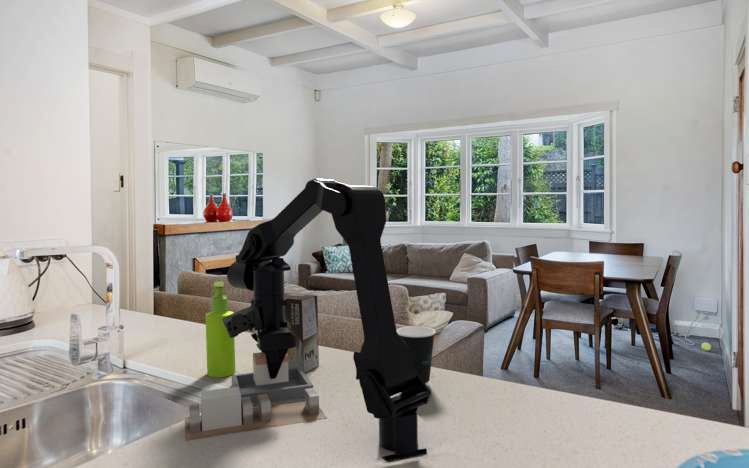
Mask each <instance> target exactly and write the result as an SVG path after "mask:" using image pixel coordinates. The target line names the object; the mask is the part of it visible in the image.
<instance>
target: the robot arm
mask: <svg viewBox="0 0 749 468" xmlns="http://www.w3.org/2000/svg"><path fill="white" fill-rule="evenodd" d="M386 207H387V206H386V199H385V194H384V193H383V191H382V190H380V189H379V188H378V187H376V186H373V185H354V184H353V185H350V184H347V183H342V182H339V181H337V180H334V179H331V178H330V179H327V178H312V179H311V180H308V181H307V182H306V184H305V186H304V188H303V189H302V190H301V191H300V192H299V193H298V194H297V195H296V196H295V197H294V198H293V199H292V200H291V201H290V202H289V203H288V204H287V205H286V206H285V207H284V208H282V210H281V211H280V212H279V213H277V214H276V216H275V217H273V218H272V219H270V220H267V221H263V222H260V223H258V224H257V225H255V226H254V227H252V228H250V230H249V231H248V232H247V234H246V237H245V240H244V242H243V245H242V247H241V250H240V252H239V253H238V254H236V255H235V261H234V262H233V263H231V264H230V266H229V267H228V271H227V273H226V278H227V281H228V283H229V284H230V286H231V287H233V288H236V289H240V290H245V291H251V292H252V291H253V297H252V298H251V299H250V306H249V307H246V308H243V309H239V310H238V311H236V312H234V313H233V314H231V315H228V316H226V317H224V318H223V319H222V320H223V323H224V325H225V327H226V330H227V332H228V334H229V337H230V338H233V337H235V338H236V337H238V336H239V335H240V334H242V333H245V332H247V331H249V332H252V331H253V330H254V332H255V333H251V337H252V339H253V340H254V341H255V342H256V344H255V345H256V347H257V348H258V350H259V351H260V352H264V353H265V357H266V362H267V367H268V372H269V377H270V379H275V378H276V377H277V374H278V372H279V370H280V367H281V365H282V362H283V360H284V358H285V356H286V354H287V351H288V349H289V348H294V347H296V337H295V335H294V334H293V333H292V332H291V331H290V330H289V329H287V328H282V327H287V321H286V320H285V305H287V300H286V299H285V294H284V293H285V272H286V271H287V272H288V271H291V266H290V265H289V263H287V262H286V261H285V260H284V258H283V257H285V256H286V255H287V254H288V253H289V251H290V250H291V248H292V247H293V246H294V245H295V237H296V235H298V233H300V232H301V231H302V230H303V229H304V228H305V227H306V226H308V225H309V224H310V222H311V223H312V221H313V220H314V219H315V218H316V217H317V216H319V214H321V213H322V212H323V211H324V212H326V213H329V214H331V218H332V220H333V224H334V227H335V229H336V231H337V232H338V234H339V236H341V238H342V239H343V240H344V241H345V242H346V244H347V246H348V249H349V251H348V252H349V256H350V260H351V261H350V262H351V267H352V275H353V280H354V285H355V289H356V290H355V291H356V296H357V301H358V302H357V303H358V309H359V313H360V320H361V327H362V331H363V338H364V339H363V342H362V345H361V349H360V350H356V351H354V352H353V355H352V356H353V357H352V358H353V362H354V366H355V373H356V374H355V380H357V381H359V385H360V388H361V392H362V396H363V400H364V404H365V408H366V412H367V413H369V414H371V415H372V416H373V418H375V419H378V444H379V446H380V447H381V448H382V449H384V450H386V451H388V452H393V454H388V455H384V456H382V458H383V460H384V461H385V462H393V461H398V460H404V459H407V458H408V459H409V458H413V457H417V456H423V455H427V453H428V451H427V450H428V449H427V448H426V447H425V448H420V449H418V445H419V444H418V442H419V441H418V437H419V436H418V433H419V432H418V427H419V425H418V423H419V420H418V414H419V413H418V410H419V407H422V406H424V405H427V404H429V401H430V398H431V395H432V391H431V390H430V389H429V387H428V386H427V385H426V384H425V382H424V381H423V379H422V378H421V376H420V375H419V373H418V372H417V370H416V369H415V365H414V362H413V359H412V356H411V353H410V350H409V348H408V346H407V345H406V344H405V342H404V341H403V340H402V339H401V337H400V336H399V335H398V333H397V326H396V322H395V314H394V309H393V304H392V299H391V298H392V297H391V293H390V287H389V283H388V281H389V280H388V276H387V271H386V265H385V260H384V253H383V248H382V242H381V241H382V235H383V233H384V230H385V226H386V222H387V213H386V212H387V209H386ZM394 395H395V396H394Z"/></svg>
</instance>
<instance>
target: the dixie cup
mask: <svg viewBox="0 0 749 468" xmlns="http://www.w3.org/2000/svg"><path fill="white" fill-rule="evenodd" d="M396 330H397V333H398V335H399V336H400V337H401V339H402V340H403V341H404V342H405V344H406V345H407V346H408V348H409V350H410V353H411V356H412V359H413V362H414V365H415V369H416V370H417V372H418V373H419V375H420V376H421V378H422V379H423V381H424V382H425V384H426V385H427V387H428V386H429V382H430V378H431V377H430V376H431V369H432V358H433V350H434V342H435V341H434V340H435V334H436V333H437V332H436V330H435V329H434V328H432V327H428V326H420V325H412V326H409V325H408V326H403V327H399V328H396Z"/></svg>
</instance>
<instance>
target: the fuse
mask: <svg viewBox="0 0 749 468" xmlns="http://www.w3.org/2000/svg"><path fill="white" fill-rule="evenodd" d="M200 416H201V421H202V431H206V430H212V429H219V428H225V427H232V426H238V425H242V419H241V393H240V390H239V387H232V386H231V387H225V388H224V387H223V388H216V389H215V388H213V389H206V390H201V391H200Z"/></svg>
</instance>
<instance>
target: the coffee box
mask: <svg viewBox="0 0 749 468" xmlns="http://www.w3.org/2000/svg"><path fill="white" fill-rule="evenodd" d="M284 294H285V299H286V300H287V305H285V320H286V321H287V327H282V328H287V329H289V330H290V331H291V332H292V333H293V334H294V335H295V337H296V347H294V348H289V349H288V351H287V355H288V368H296V367H300V368H301V369H302V371H303V372H304V373H306V372H309V371H310V370H313V369H315V368H316V367H319V366H320V357H319V356H320V354H319V353H320V352H319V349H320V348H319V313H318V295H315V294H314V295H313V294H302V293H291V292H284Z"/></svg>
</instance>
